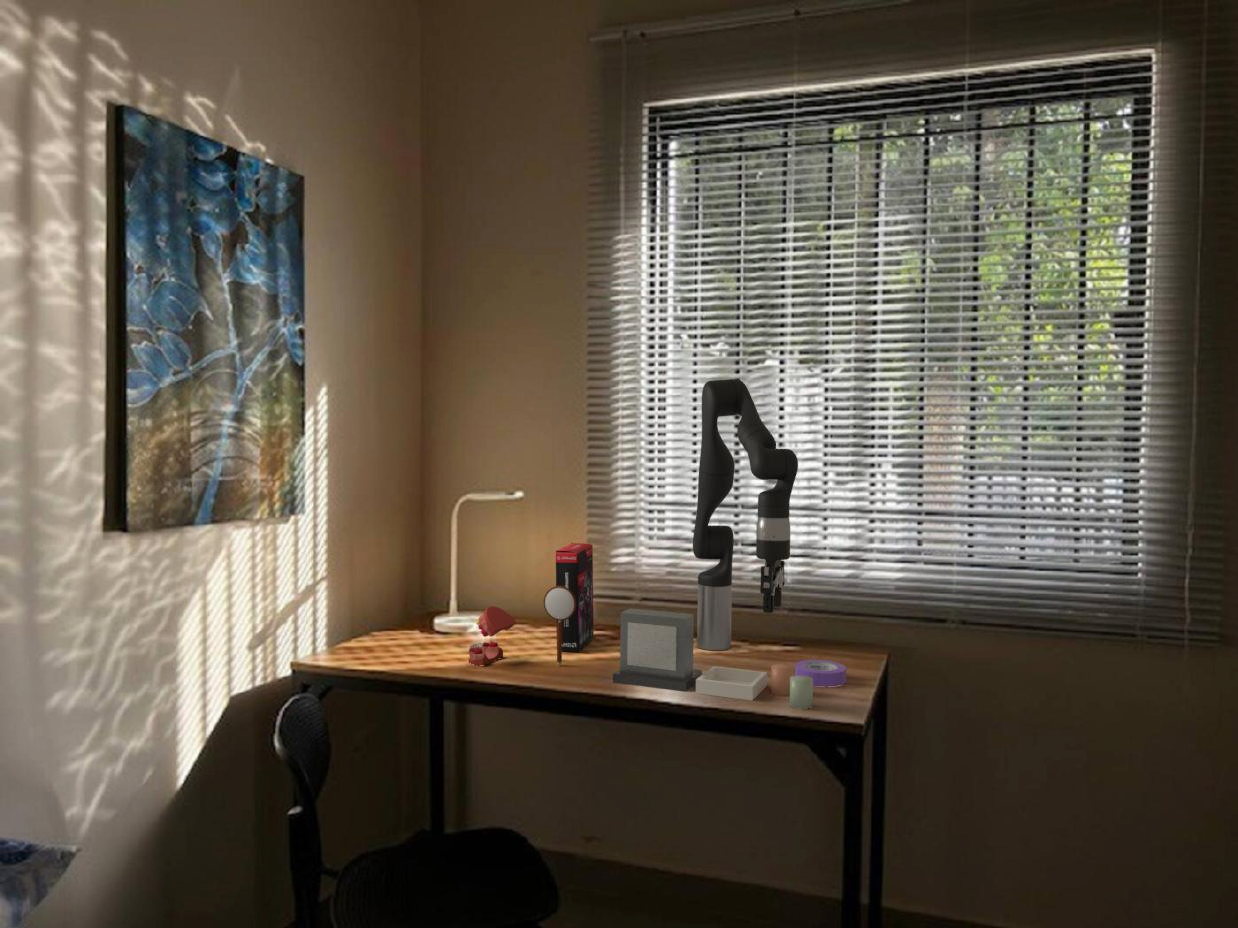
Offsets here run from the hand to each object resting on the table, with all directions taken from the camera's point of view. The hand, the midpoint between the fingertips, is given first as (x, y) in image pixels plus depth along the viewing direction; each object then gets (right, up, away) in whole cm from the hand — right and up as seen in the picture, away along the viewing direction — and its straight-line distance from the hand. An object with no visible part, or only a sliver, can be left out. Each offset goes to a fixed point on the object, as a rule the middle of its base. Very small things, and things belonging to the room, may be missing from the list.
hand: (772, 609), depth 202 cm
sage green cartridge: (+4, -19, -10) cm, 22 cm away
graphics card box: (-47, -17, +44) cm, 66 cm away
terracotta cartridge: (+2, -19, 0) cm, 19 cm away
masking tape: (+13, -19, +11) cm, 25 cm away
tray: (-9, -19, +3) cm, 21 cm away
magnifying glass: (-49, -18, +22) cm, 57 cm away
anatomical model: (-67, -18, +25) cm, 74 cm away
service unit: (-25, -18, +10) cm, 33 cm away
